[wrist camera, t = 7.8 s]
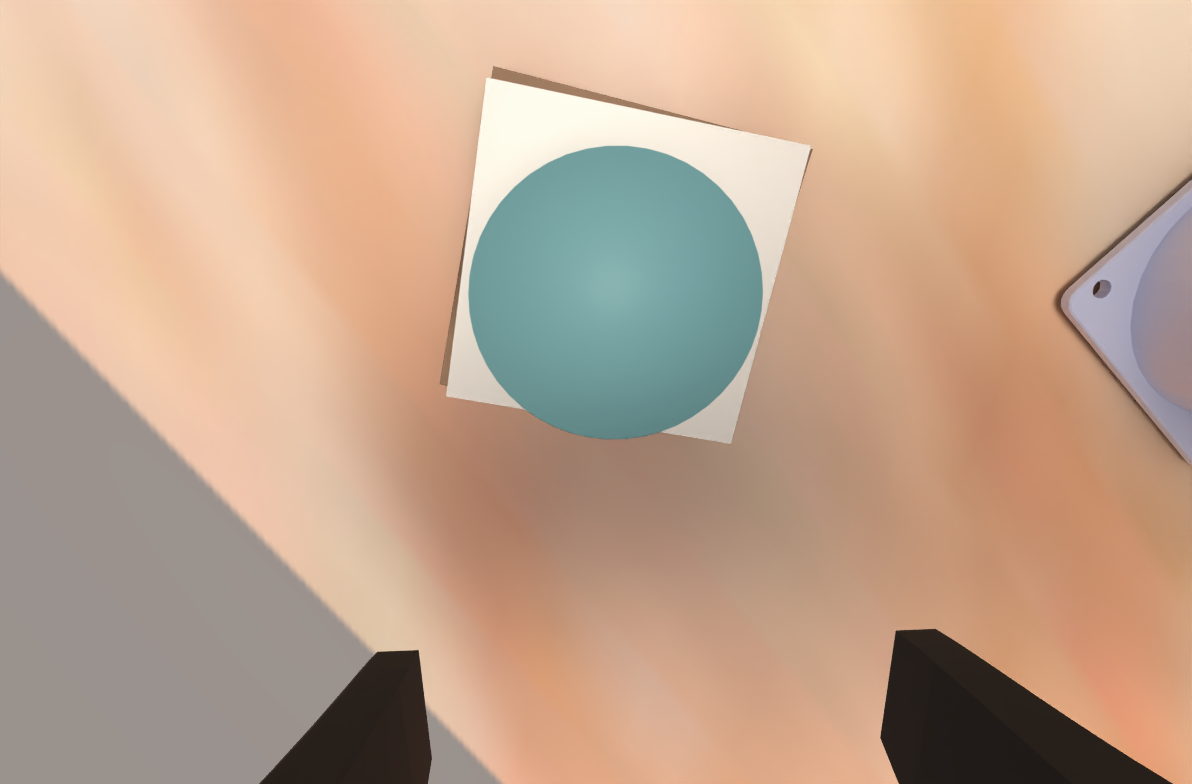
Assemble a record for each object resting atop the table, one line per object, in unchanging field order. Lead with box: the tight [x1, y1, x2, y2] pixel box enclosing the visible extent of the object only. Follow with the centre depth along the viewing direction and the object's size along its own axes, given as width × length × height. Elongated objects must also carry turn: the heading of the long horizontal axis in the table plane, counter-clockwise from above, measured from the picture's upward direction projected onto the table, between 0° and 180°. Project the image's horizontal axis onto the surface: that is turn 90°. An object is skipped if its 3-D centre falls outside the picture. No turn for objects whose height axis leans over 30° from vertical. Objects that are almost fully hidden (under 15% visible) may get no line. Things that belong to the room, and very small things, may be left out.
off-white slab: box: [446, 78, 811, 444], centre depth 16 cm, size 7×7×2 cm
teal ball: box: [468, 146, 763, 439], centre depth 12 cm, size 5×5×5 cm
